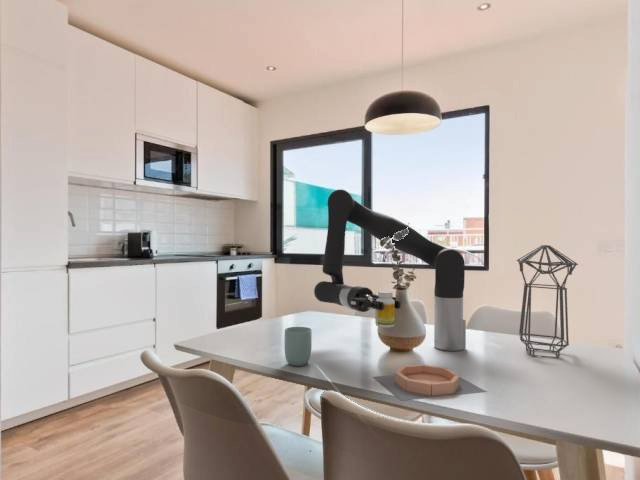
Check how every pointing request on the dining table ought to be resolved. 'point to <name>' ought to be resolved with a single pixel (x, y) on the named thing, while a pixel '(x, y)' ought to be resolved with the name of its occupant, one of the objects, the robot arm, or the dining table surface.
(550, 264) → the geometric lantern
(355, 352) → the dining table surface
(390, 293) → the supplement bottle
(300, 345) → the cup
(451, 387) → the bowl
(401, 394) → the placemat
